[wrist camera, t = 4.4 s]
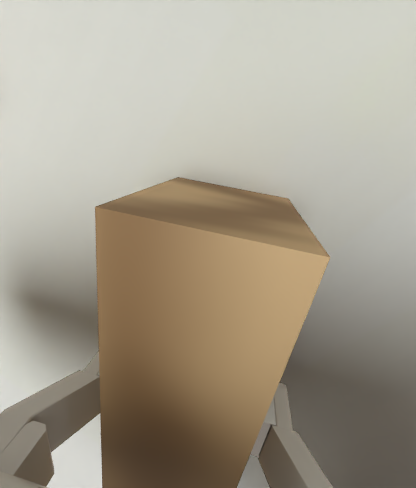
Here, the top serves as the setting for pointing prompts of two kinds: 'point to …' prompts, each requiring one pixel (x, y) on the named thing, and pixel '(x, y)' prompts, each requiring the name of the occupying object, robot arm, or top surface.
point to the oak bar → (195, 327)
